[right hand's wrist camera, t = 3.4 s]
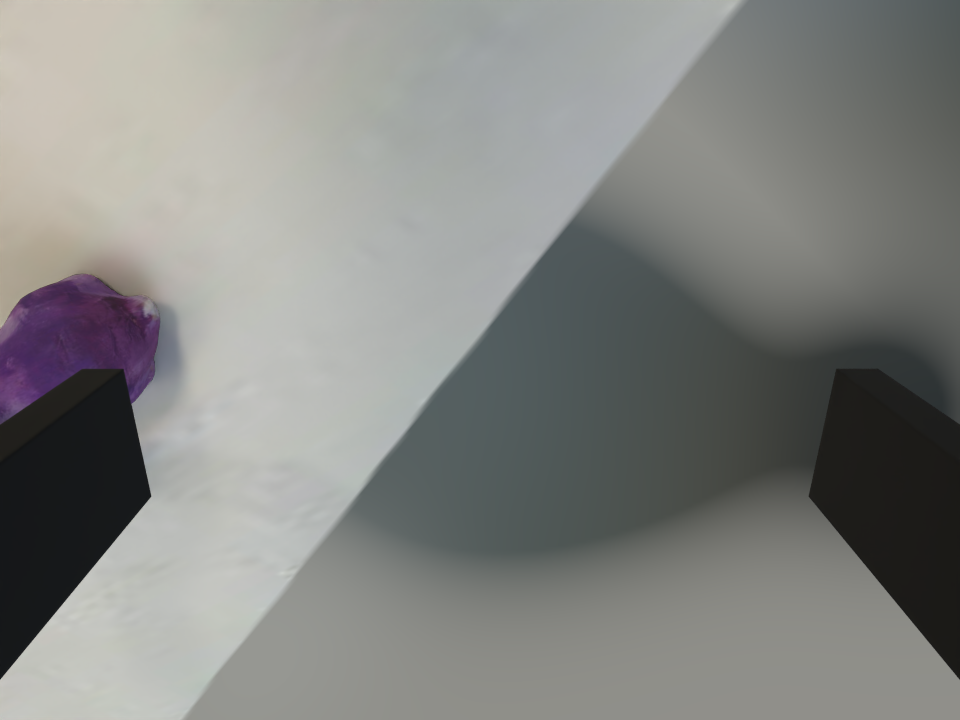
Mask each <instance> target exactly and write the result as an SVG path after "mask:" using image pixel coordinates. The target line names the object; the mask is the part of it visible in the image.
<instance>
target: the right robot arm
mask: <svg viewBox="0 0 960 720" xmlns="http://www.w3.org/2000/svg"><path fill="white" fill-rule="evenodd" d="M150 497H151V493H150V488H149V483H148V479H147V474H146V470H145V465H144V460H143V456H142V451H141V446H140V442H139V437H138V433H137V428H136V423H135V419H134V414H133V409H132V405H131V400H130V396H129V391H128V386H127V382H126V377H125V372H124V369H81V370H80V371H78V372H77V373H75V374H74V375H72V376H71V377H69V378H68V379H66V380H65V381H63V382H62V383H61V384H59V385H58V386H56V387H55V388H53V389H52V390H50V391H49V392H47V393H46V394H44V395H43V396H41V397H40V398H38V399H37V400H36V401H34V402H33V403H31V404H30V405H28V406H27V407H25V408H24V409H22V410H21V411H19V412H18V413H16V414H15V415H14V416H12V417H11V418H9V419H8V420H6V421H5V422H3V423H2V424H0V679H1V678H2V677H3V676H4V674H5V673H6V672H7V671H8V670H9V668H10V667H11V666H12V665H13V663H14V662H15V661H16V660H17V659H18V657H19V656H20V655H21V654H22V653H23V651H24V650H25V649H26V648H27V647H28V645H29V644H30V643H31V642H32V640H33V639H34V638H35V637H36V636H37V634H38V633H39V632H40V631H41V630H42V628H43V627H44V626H45V625H46V623H47V622H48V621H49V620H50V619H51V617H52V616H53V615H54V614H55V613H56V611H57V610H58V609H59V608H60V607H61V605H62V604H63V603H64V602H65V600H66V599H67V598H68V597H69V596H70V594H71V593H72V592H73V591H74V590H75V588H76V587H77V586H78V585H79V583H80V582H81V581H82V580H83V579H84V577H85V576H86V575H87V574H88V573H89V571H90V570H91V569H92V568H93V567H94V565H95V564H96V563H97V562H98V560H99V559H100V558H101V557H102V556H103V554H104V553H105V552H106V551H107V550H108V548H109V547H110V546H111V545H112V543H113V542H114V541H115V540H116V539H117V537H118V536H119V535H120V534H121V533H122V531H123V530H124V529H125V528H126V526H127V525H128V524H129V523H130V522H131V520H132V519H133V518H134V517H135V516H136V514H137V513H138V512H139V511H140V510H141V508H142V507H143V506H144V505H145V503H146V502H147V501H148V500H149V499H150ZM809 497H810V499H811V500H812V501H813V502H814V503H815V505H816V506H817V507H818V508H819V509H820V511H821V512H822V513H823V514H824V516H825V517H826V518H827V519H828V520H829V522H830V523H831V524H832V525H833V526H834V528H835V529H836V530H837V531H838V533H839V534H840V535H841V536H842V537H843V539H844V540H845V541H846V542H847V543H848V545H849V546H850V547H851V548H852V550H853V551H854V552H855V553H856V554H857V556H858V557H859V558H860V559H861V560H862V562H863V563H864V564H865V565H866V567H867V568H868V569H869V570H870V571H871V573H872V574H873V575H874V576H875V577H876V579H877V580H878V581H879V582H880V583H881V585H882V586H883V587H884V588H885V590H886V591H887V592H888V593H889V594H890V596H891V597H892V598H893V599H894V600H895V602H896V603H897V604H898V605H899V606H900V608H901V609H902V610H903V611H904V613H905V614H906V615H907V616H908V617H909V619H910V620H911V621H912V622H913V623H914V625H915V626H916V627H917V628H918V630H919V631H920V632H921V633H922V634H923V636H924V637H925V638H926V639H927V640H928V642H929V643H930V644H931V645H932V647H933V648H934V649H935V650H936V651H937V653H938V654H939V655H940V656H941V657H942V659H943V660H944V661H945V662H946V663H947V665H948V666H949V667H950V668H951V670H952V671H953V672H954V673H955V674H956V676H957V677H958V678H959V679H960V424H958V423H957V422H955V421H954V420H952V419H951V418H949V417H948V416H946V415H945V414H944V413H942V412H941V411H939V410H938V409H936V408H935V407H933V406H932V405H930V404H929V403H927V402H926V401H924V400H923V399H921V398H920V397H919V396H917V395H916V394H914V393H913V392H911V391H910V390H908V389H907V388H905V387H904V386H902V385H901V384H899V383H898V382H897V381H895V380H894V379H892V378H891V377H889V376H888V375H886V374H885V373H883V372H882V371H880V370H879V369H836V372H835V377H834V382H833V386H832V391H831V396H830V400H829V405H828V410H827V414H826V419H825V423H824V428H823V433H822V437H821V442H820V446H819V451H818V456H817V460H816V465H815V470H814V474H813V479H812V484H811V488H810V493H809Z"/></svg>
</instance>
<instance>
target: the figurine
mask: <svg viewBox="0 0 960 720" xmlns="http://www.w3.org/2000/svg"><path fill="white" fill-rule="evenodd" d="M159 327H160V315H159V311H158V309H157V306H156V305H155V303H154V302H153V300H151V299H150V298H149V297H147V296H144V295H138V296H122V295H119V294H118V293H116V292H115V291H114V290H111V289H110V288H109V287H107V286H106V285H104V284H103V283H102V282H101V281H100V280H99V279H98V278H96V277H94V276H92V275H88V274H79V275H72V276H70V277H68V278H65V279H63V280H61V281H59V282H57V283H54V284H51V285H48V286H45V287H42V288H40V289H38V290H36V291H33V292H31V293H29V294H28V295H26V296H24V297H23V298H22V299H21V300H20V301H19V302H18V303H17V305H16V306H15V307H14V309H13V310H12V311H11V313H10V315H9V317H8V318H7V320H6V322H5V324H4V325H3V326H2V328H1V329H0V424H2V423H3V422H5V421H6V420H8V419H9V418H11V417H12V416H14V415H15V414H16V413H18V412H19V411H21V410H22V409H24V408H25V407H27V406H28V405H30V404H31V403H33V402H34V401H36V400H37V399H38V398H40V397H41V396H43V395H44V394H46V393H47V392H49V391H50V390H52V389H53V388H55V387H56V386H58V385H59V384H61V383H62V382H63V381H65V380H66V379H68V378H69V377H71V376H72V375H74V374H75V373H77V372H78V371H80V370H81V369H124V372H125V377H126V382H127V386H128V391H129V396H130V400H131V404H132V403H133V402H134V401H135V400H136V399H137V398H138V397H139V395H140V394H141V393H142V391H143V390H144V389H145V388H146V386H147V385H148V384H149V383H150V381H151V380H152V379H153V377H154V374H155V362H154V360H153V358H154V355H155V352H156V348H157V344H158V335H159Z"/></svg>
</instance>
